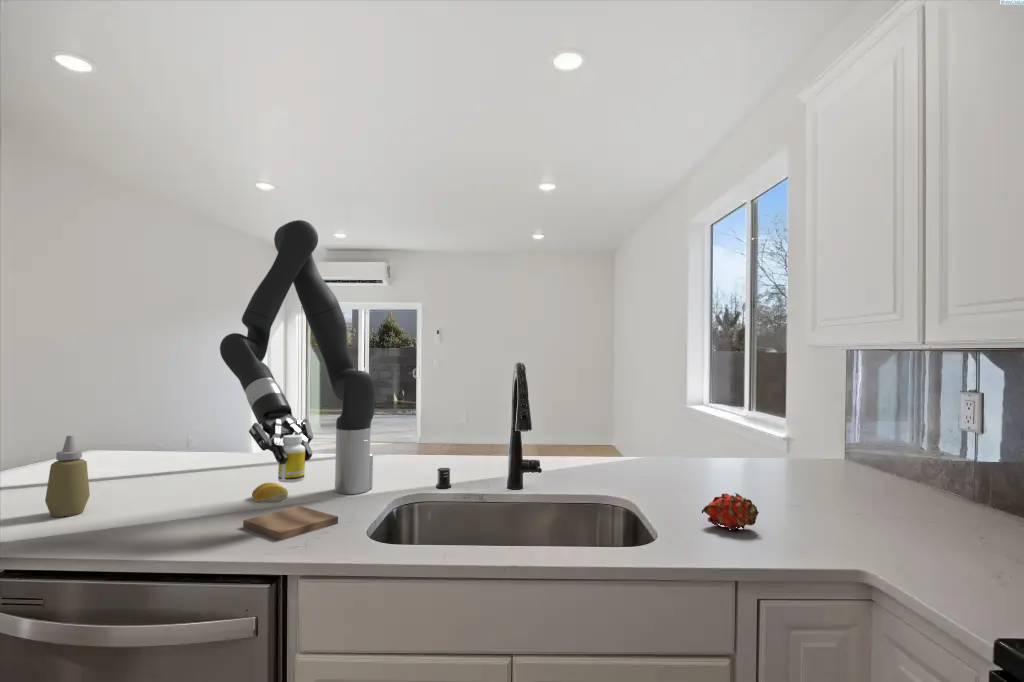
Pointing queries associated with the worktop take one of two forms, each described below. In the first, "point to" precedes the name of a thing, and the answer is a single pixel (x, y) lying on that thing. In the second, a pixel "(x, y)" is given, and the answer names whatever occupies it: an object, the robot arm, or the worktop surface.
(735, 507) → the dragon fruit
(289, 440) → the supplement bottle
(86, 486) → the squeeze bottle
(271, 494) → the bread roll
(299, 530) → the walnut board
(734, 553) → the worktop surface
